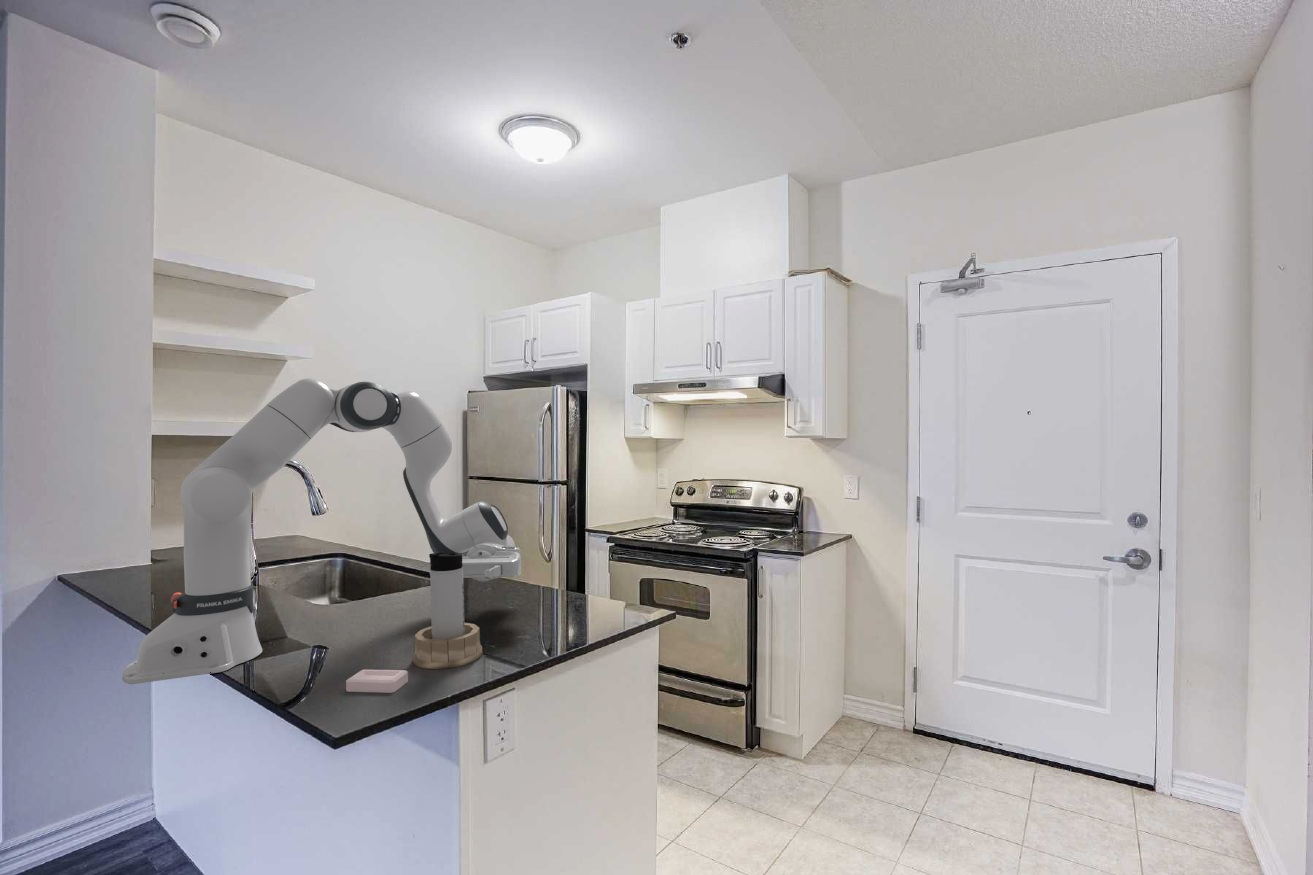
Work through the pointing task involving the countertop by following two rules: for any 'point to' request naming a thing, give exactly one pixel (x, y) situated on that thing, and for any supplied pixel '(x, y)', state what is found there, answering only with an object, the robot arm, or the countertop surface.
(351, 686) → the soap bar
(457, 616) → the travel mug
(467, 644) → the cup holder
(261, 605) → the countertop surface
